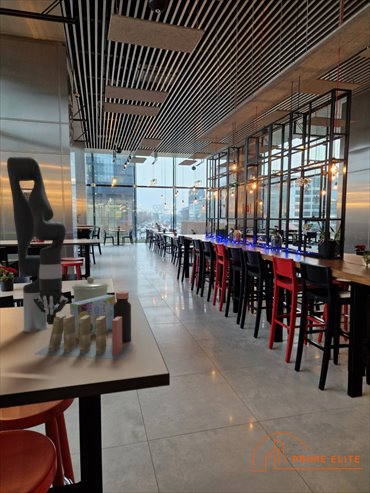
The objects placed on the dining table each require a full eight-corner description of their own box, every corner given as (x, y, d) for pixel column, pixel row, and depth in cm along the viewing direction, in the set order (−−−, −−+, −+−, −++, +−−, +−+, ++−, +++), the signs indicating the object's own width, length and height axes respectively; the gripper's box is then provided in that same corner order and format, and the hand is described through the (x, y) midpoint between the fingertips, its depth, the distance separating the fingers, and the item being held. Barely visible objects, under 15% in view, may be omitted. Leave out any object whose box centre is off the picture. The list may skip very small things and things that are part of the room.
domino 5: (112, 354, 109) (112, 320, 108) (117, 349, 114) (117, 316, 113) (117, 354, 108) (117, 320, 108) (122, 349, 113) (121, 316, 113)
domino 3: (79, 352, 110) (79, 319, 110) (86, 347, 115) (85, 315, 115) (84, 352, 110) (84, 319, 110) (90, 347, 115) (90, 315, 115)
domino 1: (48, 349, 112) (54, 317, 111) (55, 344, 117) (61, 314, 116) (52, 351, 112) (59, 318, 111) (60, 346, 117) (66, 315, 116)
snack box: (107, 326, 146) (107, 294, 145) (116, 328, 143) (116, 295, 142) (70, 339, 127) (69, 302, 127) (79, 341, 125) (79, 304, 124)
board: (34, 356, 109) (34, 354, 109) (53, 344, 121) (53, 342, 121) (122, 362, 105) (122, 359, 105) (133, 349, 116) (133, 346, 116)
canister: (113, 313, 169) (113, 274, 168) (101, 323, 151) (100, 279, 150) (81, 312, 170) (81, 274, 170) (65, 321, 152) (64, 278, 152)
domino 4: (95, 353, 109) (95, 319, 109) (101, 348, 114) (101, 316, 114) (100, 353, 109) (100, 319, 109) (106, 348, 114) (106, 316, 114)
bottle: (123, 346, 119) (122, 294, 118) (110, 343, 123) (109, 292, 122) (134, 341, 125) (134, 291, 124) (121, 338, 128) (121, 290, 128)
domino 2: (63, 351, 111) (63, 318, 111) (70, 346, 116) (70, 314, 116) (68, 352, 111) (68, 318, 110) (75, 347, 116) (74, 314, 115)
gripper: (27, 277, 110) (28, 326, 111) (62, 278, 108) (62, 327, 109) (40, 274, 118) (40, 320, 118) (73, 275, 116) (73, 321, 116)
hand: (51, 323), depth 114 cm, fingers closed
